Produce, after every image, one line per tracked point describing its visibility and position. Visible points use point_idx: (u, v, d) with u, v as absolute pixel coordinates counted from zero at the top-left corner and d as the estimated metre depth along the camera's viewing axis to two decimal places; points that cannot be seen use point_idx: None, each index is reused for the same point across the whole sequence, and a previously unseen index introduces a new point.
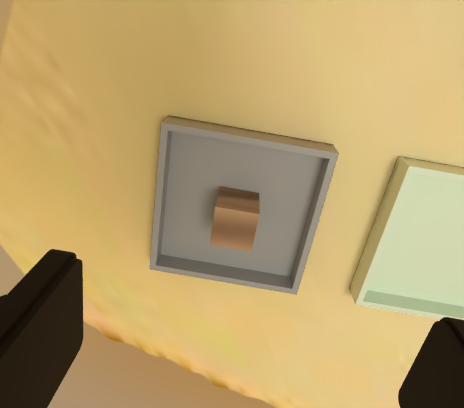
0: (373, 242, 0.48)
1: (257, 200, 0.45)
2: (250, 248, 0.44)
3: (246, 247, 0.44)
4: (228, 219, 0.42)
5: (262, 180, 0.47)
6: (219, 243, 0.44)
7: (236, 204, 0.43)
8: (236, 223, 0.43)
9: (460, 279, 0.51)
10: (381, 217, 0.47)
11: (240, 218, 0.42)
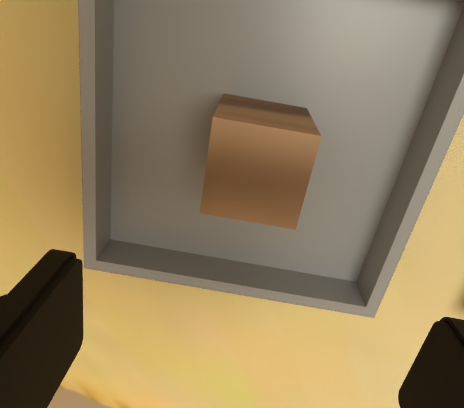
0: None
1: (307, 116, 0.20)
2: (294, 222, 0.19)
3: (286, 219, 0.19)
4: (245, 150, 0.18)
5: (314, 77, 0.22)
6: (222, 210, 0.19)
7: (263, 118, 0.18)
8: (262, 160, 0.18)
9: None
10: None
11: (273, 149, 0.17)
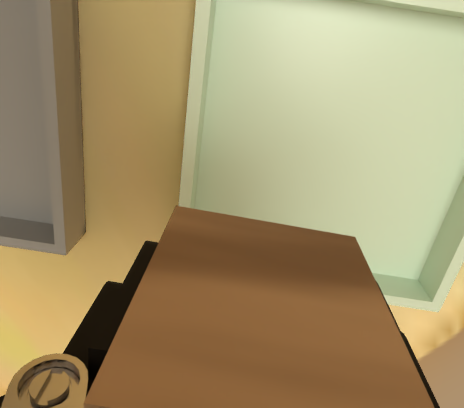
0: None
1: (369, 289, 0.08)
2: None
3: None
4: None
5: None
6: None
7: (261, 345, 0.06)
8: None
9: (364, 222, 0.28)
10: None
11: None
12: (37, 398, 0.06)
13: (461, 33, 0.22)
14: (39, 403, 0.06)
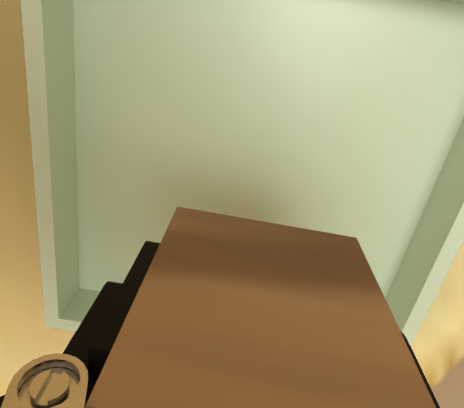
0: None
1: (371, 290, 0.08)
2: None
3: None
4: None
5: None
6: None
7: (263, 347, 0.06)
8: None
9: None
10: None
11: None
12: (37, 398, 0.06)
13: (417, 17, 0.16)
14: (39, 403, 0.06)
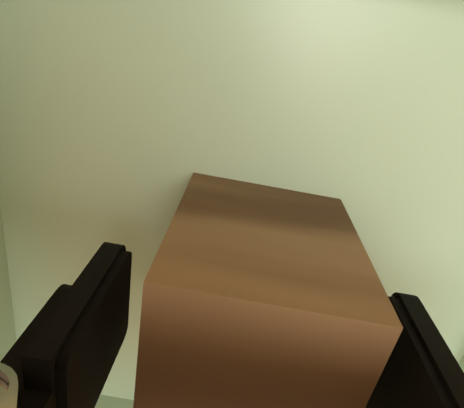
0: None
1: (349, 232, 0.10)
2: None
3: None
4: (223, 348, 0.08)
5: None
6: None
7: (264, 259, 0.08)
8: (262, 366, 0.08)
9: None
10: None
11: (288, 347, 0.08)
12: None
13: None
14: None
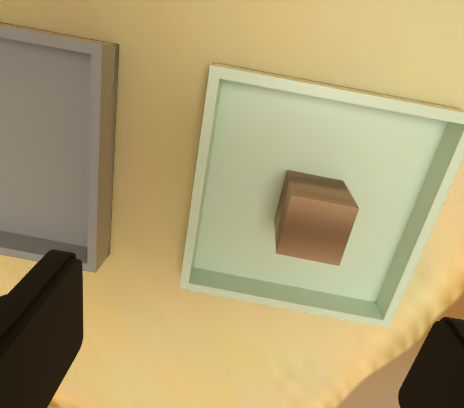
0: None
1: (345, 189, 0.30)
2: (338, 261, 0.29)
3: (333, 259, 0.29)
4: (310, 215, 0.28)
5: (26, 100, 0.32)
6: (291, 252, 0.29)
7: (320, 193, 0.28)
8: (320, 221, 0.28)
9: None
10: None
11: (328, 215, 0.28)
12: None
13: (401, 119, 0.30)
14: None
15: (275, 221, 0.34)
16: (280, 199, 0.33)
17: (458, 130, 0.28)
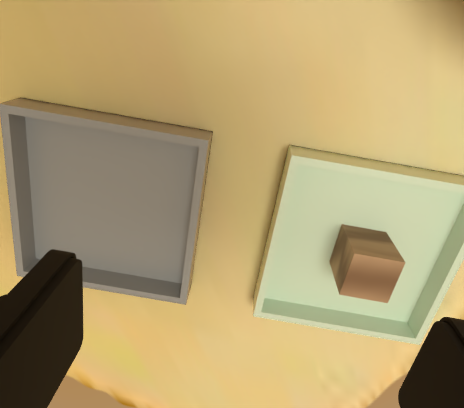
0: (268, 245, 0.42)
1: (391, 242, 0.39)
2: (387, 299, 0.38)
3: (383, 298, 0.38)
4: (367, 267, 0.36)
5: (135, 173, 0.40)
6: (351, 293, 0.38)
7: (374, 249, 0.37)
8: (375, 272, 0.37)
9: None
10: (274, 216, 0.41)
11: (381, 267, 0.36)
12: None
13: (434, 188, 0.39)
14: None
15: (331, 263, 0.42)
16: (336, 247, 0.42)
17: None
